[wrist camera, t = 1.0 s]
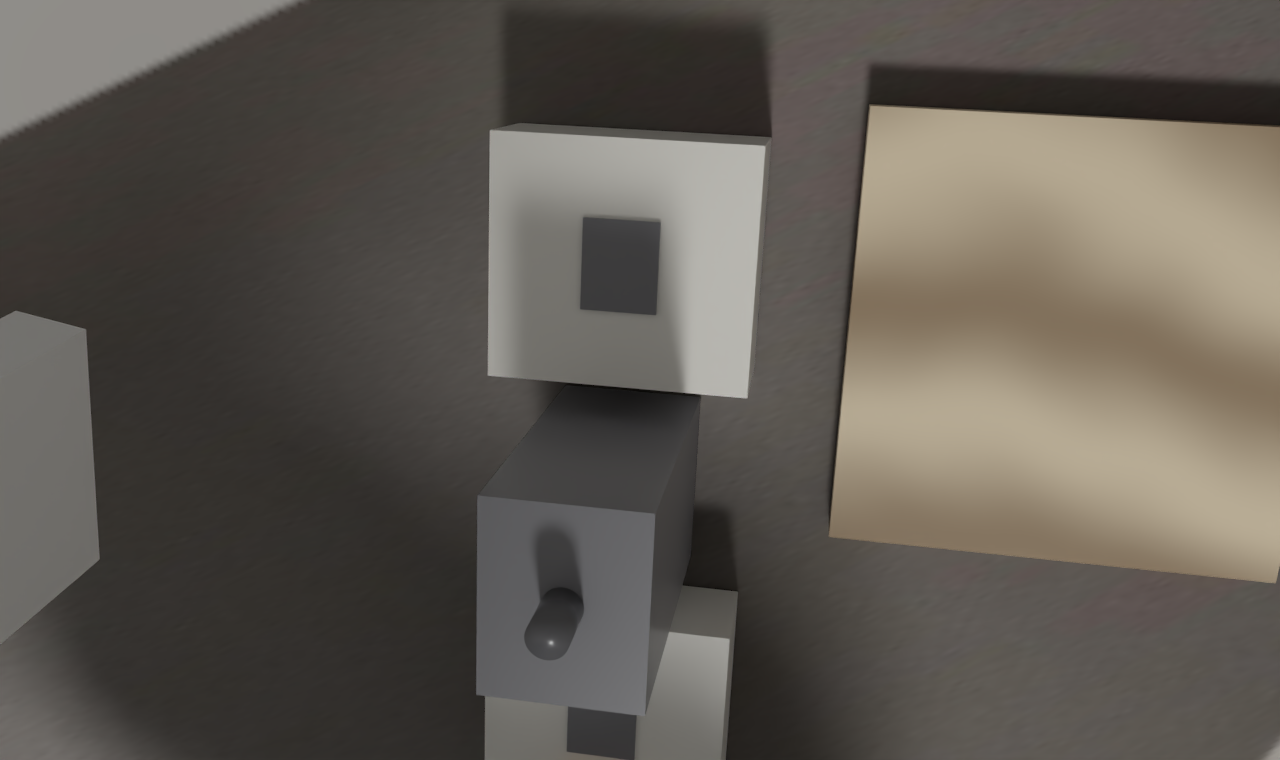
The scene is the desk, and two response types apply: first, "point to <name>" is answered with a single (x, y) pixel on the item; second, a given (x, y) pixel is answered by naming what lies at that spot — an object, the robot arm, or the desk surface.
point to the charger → (586, 550)
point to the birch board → (1065, 341)
